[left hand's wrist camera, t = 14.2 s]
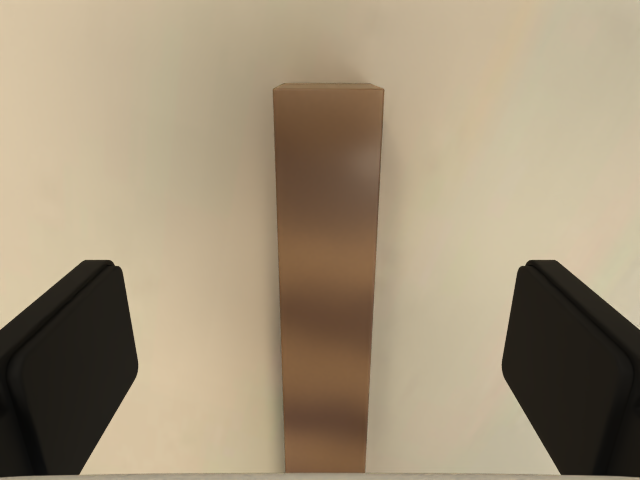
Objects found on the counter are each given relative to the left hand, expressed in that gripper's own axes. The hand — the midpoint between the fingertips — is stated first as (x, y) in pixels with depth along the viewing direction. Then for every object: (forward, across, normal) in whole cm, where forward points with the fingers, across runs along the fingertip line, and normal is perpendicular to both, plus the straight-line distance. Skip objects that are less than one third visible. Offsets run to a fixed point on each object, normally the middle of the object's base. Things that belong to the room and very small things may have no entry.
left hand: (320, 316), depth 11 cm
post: (+22, 0, -34) cm, 41 cm away
